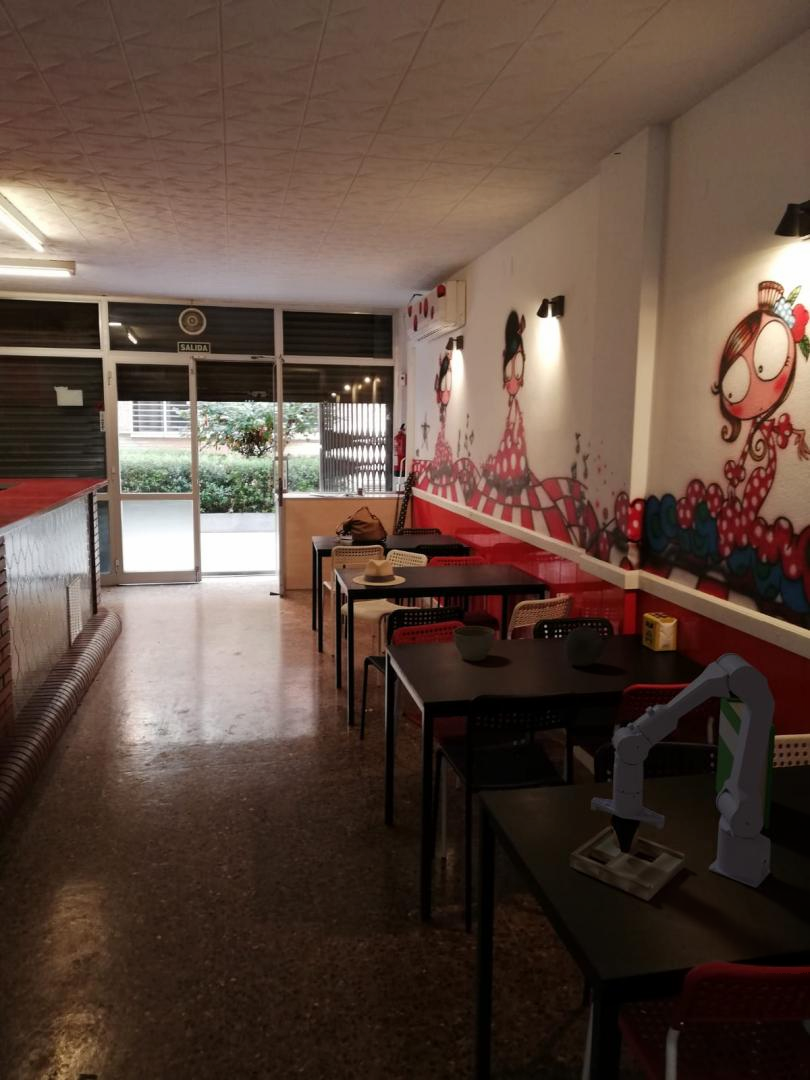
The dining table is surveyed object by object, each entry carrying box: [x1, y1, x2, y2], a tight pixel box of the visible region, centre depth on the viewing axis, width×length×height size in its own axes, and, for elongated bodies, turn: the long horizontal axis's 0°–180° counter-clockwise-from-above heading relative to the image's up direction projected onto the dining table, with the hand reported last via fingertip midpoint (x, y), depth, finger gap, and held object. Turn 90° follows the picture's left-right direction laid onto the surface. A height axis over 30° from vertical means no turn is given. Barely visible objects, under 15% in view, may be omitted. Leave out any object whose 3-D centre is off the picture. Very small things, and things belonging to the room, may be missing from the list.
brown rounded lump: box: [613, 827, 640, 850], centre depth 163 cm, size 5×5×4 cm
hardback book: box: [715, 697, 776, 830], centre depth 181 cm, size 18×7×24 cm, turn 171°
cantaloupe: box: [563, 626, 605, 668], centre depth 293 cm, size 14×14×15 cm
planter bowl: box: [452, 625, 496, 662], centre depth 304 cm, size 16×16×11 cm
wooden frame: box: [569, 825, 686, 902], centre depth 158 cm, size 17×16×3 cm
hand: (625, 850), depth 158 cm, fingers closed
